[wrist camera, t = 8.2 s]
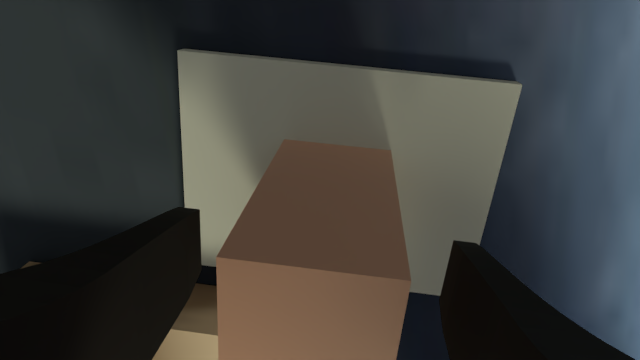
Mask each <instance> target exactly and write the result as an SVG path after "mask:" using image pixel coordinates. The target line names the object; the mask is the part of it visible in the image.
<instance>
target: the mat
mask: <svg viewBox="0 0 640 360" xmlns="http://www.w3.org/2000/svg"><path fill="white" fill-rule="evenodd" d="M177 55H178V76H179V97H180V118H181V139H182V159H183V180H184V201H185V208H192V209H200V233H201V264H202V265H205V266H213V267H216V256H217V255H218V253H219V251H220V250H221V248H222V246H223V244H224V243H225V241H226V239H227V237H228V236H229V234H230V232H231V230H232V229H233V227H234V225H235V224H236V222H237V220H238V218H239V217H240V215H241V213H242V211H243V210H244V208H245V206H246V204H247V203H248V201H249V199H250V197H251V196H252V194H253V192H254V191H255V189H256V187H257V185H258V184H259V182H260V180H261V178H262V177H263V175H264V173H265V171H266V170H267V168H268V166H269V165H270V163H271V161H272V159H273V158H274V156H275V154H276V152H277V151H278V149H279V147H280V145H281V144H282V142H283V140H284V139H287V140H296V141H306V142H316V143H325V144H335V145H344V146H354V147H363V148H373V149H382V150H391V154H392V160H393V166H394V173H395V179H396V186H397V192H398V199H399V205H400V211H401V218H402V224H403V231H404V237H405V243H406V250H407V256H408V263H409V269H410V275H411V286H410V291H409V292H415V293H423V294H431V295H438V296H440V295H441V290H442V286H443V282H444V278H445V274H446V269H447V265H448V261H449V257H450V253H451V248H452V244H453V240H456V241H464V242H473V243H477V244H478V245H479V246H480V242H481V238H482V234H483V231H484V227H485V223H486V219H487V216H488V212H489V208H490V204H491V201H492V197H493V193H494V190H495V186H496V182H497V178H498V175H499V171H500V167H501V163H502V160H503V156H504V152H505V148H506V145H507V141H508V137H509V133H510V130H511V126H512V122H513V118H514V115H515V111H516V107H517V103H518V100H519V96H520V92H521V88H522V84H520V83H519V82H517V81H507V80H497V79H487V78H476V77H466V76H456V75H446V74H436V73H426V72H416V71H406V70H396V69H385V68H375V67H365V66H355V65H345V64H335V63H325V62H315V61H305V60H294V59H284V58H274V57H264V56H254V55H244V54H234V53H224V52H213V51H203V50H193V49H181V50H177Z"/></svg>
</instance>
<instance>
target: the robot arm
mask: <svg viewBox="0 0 640 360" xmlns="http://www.w3.org/2000/svg"><path fill="white" fill-rule="evenodd" d="M201 270H202V264H201V233H200V209H192V208H184V207H178V208H175V209H172V210H170V211H167V212H165V213H163V214H161V215H159V216H156V217H154V218H152V219H150V220H148V221H146V222H144V223H142V224H139V225H137V226H135V227H133V228H131V229H129V230H127V231H125V232H122V233H120V234H118V235H115V236H113V237H111V238H108V239H106V240H104V241H101V242H99V243H97V244H94V245H92V246H90V247H87V248H84V249H82V250H79V251H76V252H74V253H71V254H68V255H65V256H62V257H59V258H56V259H53V260H50V261H47V262H43V263H40V264H36V265H32V266H29V267H25V268H21V269H17V270H13V271H10V272H6V273H2V274H0V360H152V359H153V357H154V356H155V354H156V352H157V351H158V349H159V347H160V346H161V344H162V343H163V341H164V339H165V338H166V336H167V334H168V333H169V331H170V330H171V328H172V326H173V325H174V323H175V321H176V320H177V318H178V316H179V315H180V313H181V311H182V310H183V308H184V306H185V305H186V303H187V301H188V300H189V298H190V296H191V293H192V291H193V289H194V287H195V284H196V282H197V279H198V277H199V274H200V272H201ZM439 302H440V312H441V321H442V328H443V334H444V338H445V342H446V346H447V350H448V354H449V358H450V360H635V359H633V358H632V357H630V356H628V355H626V354H625V353H623V352H621V351H619V350H618V349H616V348H614V347H612V346H611V345H609V344H607V343H605V342H604V341H602V340H601V339H599V338H597V337H596V336H594V335H592V334H591V333H589V332H588V331H586V330H585V329H583V328H582V327H580V326H579V325H577V324H576V323H574V322H573V321H571V320H570V319H568V318H567V317H565V316H564V315H563V314H561V313H560V312H558V311H557V310H556V309H554V308H553V307H552V306H551V305H549V304H548V303H547V302H545V301H544V300H543V299H542V298H540V297H539V296H538V295H536V294H535V293H534V292H533V291H531V290H530V289H529V288H528V287H527V286H525V285H524V284H523V283H522V282H521V281H520V280H518V279H517V278H516V277H515V276H514V275H513V274H511V273H510V272H509V271H508V270H507V269H506V268H505V267H504V266H502V265H501V264H500V263H499V262H498V261H497V260H496V259H495V258H493V257H492V256H491V255H490V254H489V253H488V252H487V251H485V250H484V249H483V248H482V247H481V246H479V245H478V244H477V243H473V242H464V241H456V240H453V244H452V248H451V253H450V257H449V261H448V265H447V269H446V274H445V278H444V282H443V286H442V290H441V295H440V299H439Z"/></svg>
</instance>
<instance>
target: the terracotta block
mask: <svg viewBox="0 0 640 360" xmlns="http://www.w3.org/2000/svg"><path fill="white" fill-rule="evenodd" d="M216 275H217V318H218V360H396V358H397V352H398V347H399V342H400V337H401V332H402V327H403V322H404V316H405V311H406V306H407V301H408V296H409V291H410V286H411V275H410V269H409V263H408V256H407V250H406V243H405V237H404V231H403V224H402V218H401V211H400V205H399V199H398V192H397V186H396V179H395V173H394V166H393V160H392V154H391V150H382V149H373V148H363V147H354V146H344V145H335V144H325V143H316V142H306V141H296V140H287V139H284V140H283V142H282V144H281V145H280V147H279V149H278V151H277V152H276V154H275V156H274V158H273V159H272V161H271V163H270V165H269V166H268V168H267V170H266V171H265V173H264V175H263V177H262V178H261V180H260V182H259V184H258V185H257V187H256V189H255V191H254V192H253V194H252V196H251V197H250V199H249V201H248V203H247V204H246V206H245V208H244V210H243V211H242V213H241V215H240V217H239V218H238V220H237V222H236V224H235V225H234V227H233V229H232V230H231V232H230V234H229V236H228V237H227V239H226V241H225V243H224V244H223V246H222V248H221V250H220V251H219V253H218V255H217V256H216Z"/></svg>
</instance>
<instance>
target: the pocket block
mask: <svg viewBox="0 0 640 360" xmlns="http://www.w3.org/2000/svg"><path fill="white" fill-rule="evenodd" d="M36 264H40V263H38V262H30V261H29V262H28V263H27V264H25V265H24V266H23V267H22V268H25V267H29V266H32V265H36ZM20 269H21V268H20ZM152 360H218V318H217V286H213V285H205V284H198V283H196V284H195V287H194V289H193V291H192V293H191V296H190V298H189V300H188V301H187V303H186V305H185V306H184V308H183V310H182V311H181V313H180V315H179V316H178V318H177V320H176V321H175V323H174V325H173V326H172V328H171V330H170V331H169V333H168V334H167V336H166V338H165V339H164V341H163V343H162V344H161V346H160V347H159V349H158V351H157V352H156V354H155V356H154V357H153V359H152Z"/></svg>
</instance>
